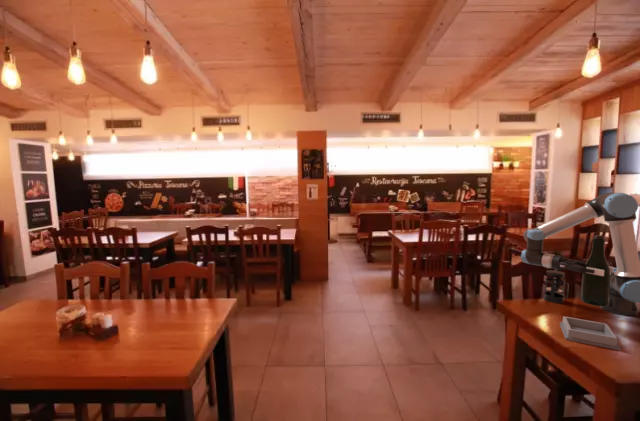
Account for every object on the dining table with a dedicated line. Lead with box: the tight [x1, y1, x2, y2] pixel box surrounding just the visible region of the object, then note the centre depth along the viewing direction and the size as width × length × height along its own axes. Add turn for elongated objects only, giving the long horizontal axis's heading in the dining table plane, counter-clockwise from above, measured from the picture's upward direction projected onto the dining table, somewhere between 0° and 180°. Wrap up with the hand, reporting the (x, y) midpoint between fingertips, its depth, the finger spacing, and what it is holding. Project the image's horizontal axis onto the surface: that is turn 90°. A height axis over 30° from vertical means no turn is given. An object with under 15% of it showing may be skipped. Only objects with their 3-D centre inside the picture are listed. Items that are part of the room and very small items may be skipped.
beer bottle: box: [580, 234, 611, 307], centre depth 151 cm, size 10×10×33 cm
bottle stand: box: [559, 316, 621, 351], centre depth 142 cm, size 18×18×4 cm
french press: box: [543, 269, 570, 304], centre depth 184 cm, size 12×9×23 cm
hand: (608, 271), depth 147 cm, fingers closed on beer bottle, 9 cm apart
